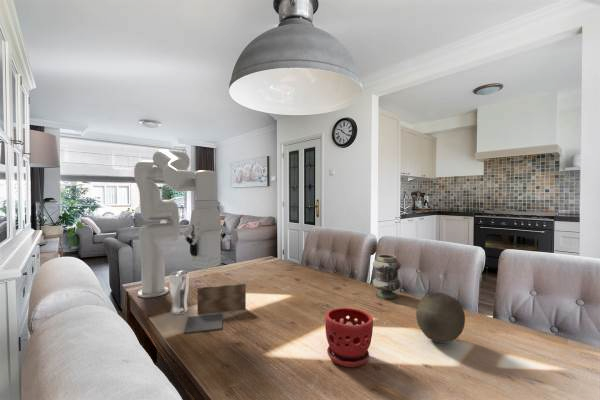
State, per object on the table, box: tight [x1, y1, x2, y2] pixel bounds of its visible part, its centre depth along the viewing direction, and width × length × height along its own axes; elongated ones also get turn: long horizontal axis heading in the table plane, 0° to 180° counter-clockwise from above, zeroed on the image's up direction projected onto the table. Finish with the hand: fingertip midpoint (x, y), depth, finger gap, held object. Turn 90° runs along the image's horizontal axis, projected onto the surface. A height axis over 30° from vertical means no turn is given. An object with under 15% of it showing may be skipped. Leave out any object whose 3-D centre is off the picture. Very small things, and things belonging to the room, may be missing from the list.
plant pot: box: [324, 307, 374, 368], centre depth 82 cm, size 13×13×12 cm
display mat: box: [183, 312, 223, 335], centre depth 103 cm, size 12×12×1 cm
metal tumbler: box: [168, 270, 190, 316], centre depth 113 cm, size 7×7×15 cm
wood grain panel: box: [196, 282, 247, 315], centre depth 113 cm, size 18×1×10 cm, turn 105°
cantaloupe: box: [415, 292, 466, 344], centre depth 90 cm, size 14×14×15 cm
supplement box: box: [190, 230, 222, 270], centre depth 104 cm, size 7×7×13 cm
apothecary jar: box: [372, 254, 402, 301], centre depth 131 cm, size 12×12×18 cm
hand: (206, 253), depth 104 cm, fingers closed on supplement box, 9 cm apart
